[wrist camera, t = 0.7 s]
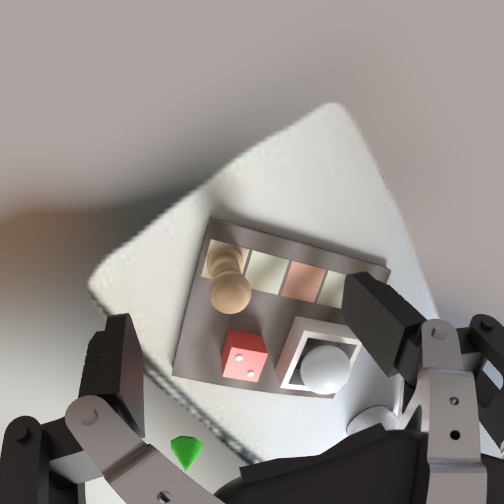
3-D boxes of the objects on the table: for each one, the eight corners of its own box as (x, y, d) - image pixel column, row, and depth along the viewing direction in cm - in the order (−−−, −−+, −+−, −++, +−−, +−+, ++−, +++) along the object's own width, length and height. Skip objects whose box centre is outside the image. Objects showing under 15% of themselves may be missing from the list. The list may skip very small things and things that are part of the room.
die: (262, 335, 40) (268, 354, 35) (252, 362, 41) (257, 382, 36) (229, 329, 39) (231, 347, 35) (220, 356, 40) (222, 376, 36)
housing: (352, 326, 41) (364, 340, 38) (328, 377, 43) (338, 393, 39) (295, 315, 40) (304, 330, 36) (274, 370, 42) (280, 387, 38)
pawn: (247, 250, 37) (262, 283, 26) (237, 283, 37) (248, 327, 27) (212, 241, 36) (213, 271, 25) (203, 275, 37) (200, 317, 26)
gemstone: (197, 433, 45) (197, 459, 40) (208, 453, 47) (209, 478, 41) (164, 437, 45) (161, 463, 39) (176, 457, 46) (175, 481, 41)
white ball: (347, 339, 40) (367, 365, 33) (329, 377, 41) (345, 405, 35) (304, 332, 38) (320, 359, 32) (288, 372, 40) (300, 402, 34)
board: (386, 267, 41) (391, 270, 40) (329, 392, 46) (333, 398, 44) (210, 217, 37) (210, 219, 35) (172, 369, 41) (171, 375, 40)
